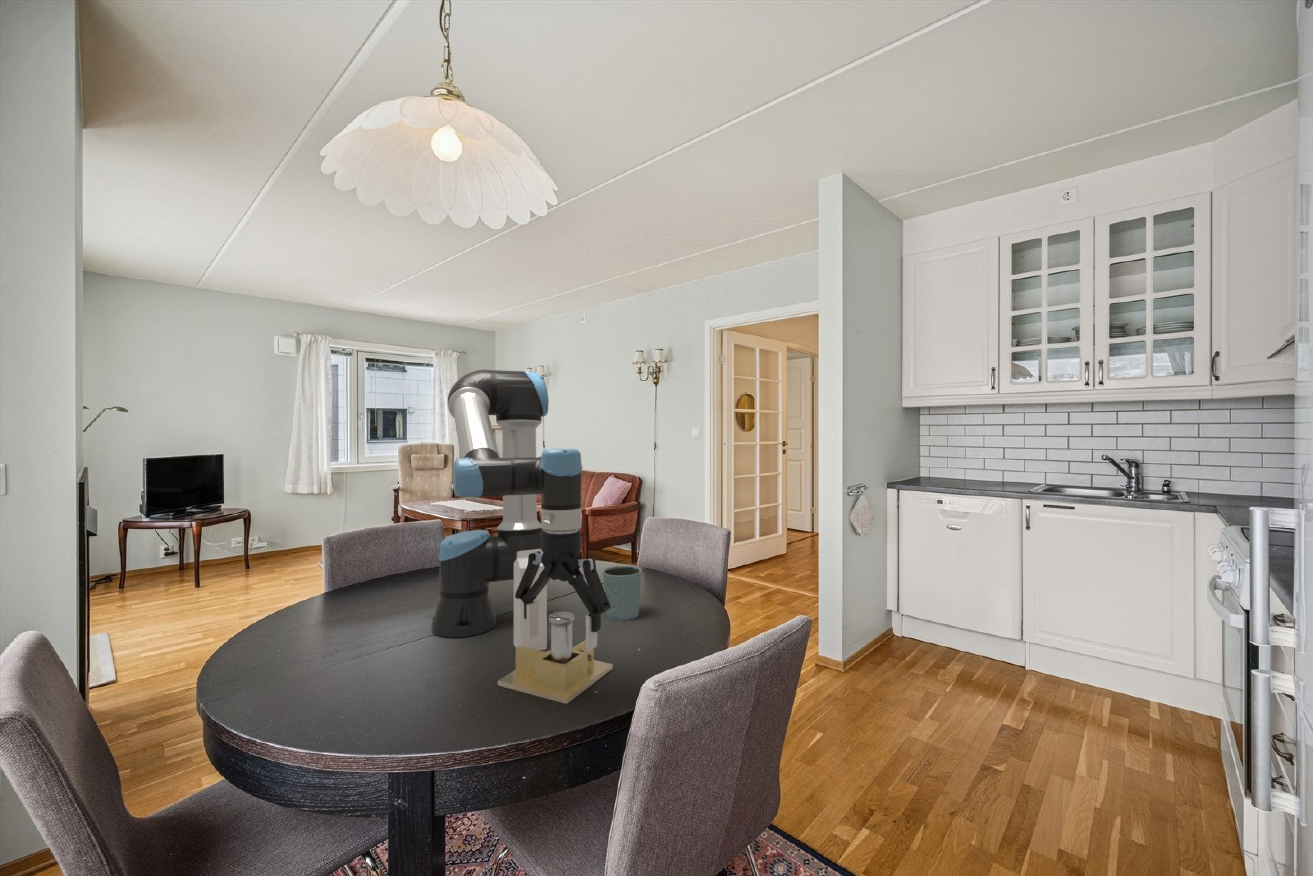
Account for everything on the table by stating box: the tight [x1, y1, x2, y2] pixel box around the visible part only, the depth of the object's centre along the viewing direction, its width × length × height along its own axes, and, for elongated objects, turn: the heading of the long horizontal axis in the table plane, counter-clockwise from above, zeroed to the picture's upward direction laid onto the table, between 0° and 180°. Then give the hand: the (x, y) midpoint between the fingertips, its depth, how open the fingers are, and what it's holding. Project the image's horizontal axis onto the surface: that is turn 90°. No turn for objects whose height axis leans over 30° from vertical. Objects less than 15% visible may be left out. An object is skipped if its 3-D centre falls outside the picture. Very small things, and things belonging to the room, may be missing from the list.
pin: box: [548, 611, 575, 664], centre depth 102 cm, size 5×5×13 cm
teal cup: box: [602, 565, 642, 621], centre depth 143 cm, size 10×10×12 cm
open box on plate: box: [497, 639, 613, 705], centre depth 107 cm, size 16×16×6 cm
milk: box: [513, 549, 548, 651], centre depth 121 cm, size 6×6×22 cm
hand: (561, 642), depth 102 cm, fingers open, 13 cm apart
